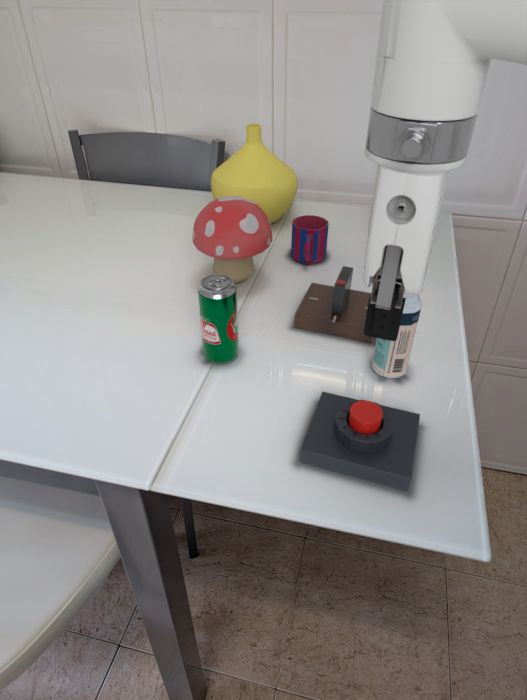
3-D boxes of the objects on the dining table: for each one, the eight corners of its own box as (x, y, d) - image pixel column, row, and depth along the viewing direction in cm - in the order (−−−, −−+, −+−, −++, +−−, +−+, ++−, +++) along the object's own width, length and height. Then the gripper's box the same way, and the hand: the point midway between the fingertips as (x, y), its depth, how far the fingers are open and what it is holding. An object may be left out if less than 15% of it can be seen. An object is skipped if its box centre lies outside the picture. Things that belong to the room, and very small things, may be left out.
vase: (195, 223, 107) (187, 129, 95) (242, 196, 119) (240, 110, 107) (268, 243, 99) (269, 144, 88) (310, 212, 112) (316, 121, 100)
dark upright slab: (339, 293, 80) (343, 264, 76) (349, 295, 79) (353, 266, 76) (331, 313, 75) (334, 283, 72) (341, 315, 75) (345, 285, 72)
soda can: (197, 352, 72) (189, 280, 64) (226, 339, 74) (222, 268, 67) (216, 370, 69) (210, 296, 61) (245, 356, 71) (244, 284, 64)
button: (382, 415, 57) (385, 404, 56) (377, 437, 54) (380, 426, 53) (351, 408, 58) (353, 397, 57) (345, 429, 55) (347, 418, 54)
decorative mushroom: (262, 259, 94) (263, 181, 85) (280, 296, 84) (282, 211, 74) (192, 267, 92) (184, 186, 82) (201, 305, 81) (193, 219, 72)
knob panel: (381, 307, 81) (384, 293, 79) (371, 343, 74) (374, 328, 72) (310, 294, 84) (311, 281, 83) (293, 327, 77) (294, 313, 75)
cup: (328, 250, 97) (331, 217, 93) (319, 274, 90) (322, 240, 85) (294, 246, 99) (296, 213, 94) (283, 269, 91) (284, 235, 87)
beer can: (411, 366, 69) (428, 292, 62) (399, 385, 66) (416, 310, 59) (378, 354, 71) (392, 282, 64) (365, 372, 68) (378, 298, 61)
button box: (416, 426, 60) (423, 403, 58) (407, 491, 53) (414, 467, 51) (321, 403, 64) (323, 380, 61) (299, 462, 56) (301, 438, 54)
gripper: (468, 173, 30) (412, 392, 42) (472, 117, 42) (426, 301, 53) (348, 160, 32) (325, 372, 44) (382, 109, 43) (357, 289, 55)
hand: (380, 333), depth 48 cm, fingers closed
